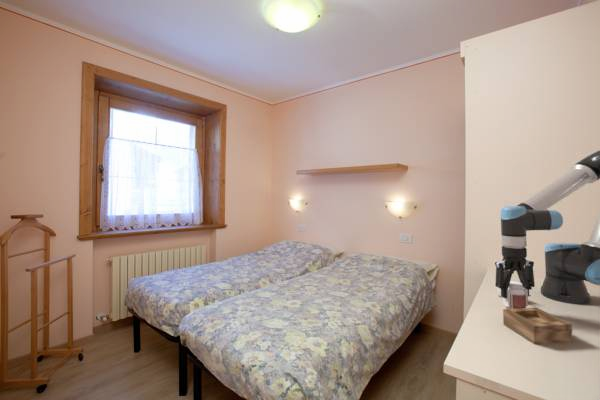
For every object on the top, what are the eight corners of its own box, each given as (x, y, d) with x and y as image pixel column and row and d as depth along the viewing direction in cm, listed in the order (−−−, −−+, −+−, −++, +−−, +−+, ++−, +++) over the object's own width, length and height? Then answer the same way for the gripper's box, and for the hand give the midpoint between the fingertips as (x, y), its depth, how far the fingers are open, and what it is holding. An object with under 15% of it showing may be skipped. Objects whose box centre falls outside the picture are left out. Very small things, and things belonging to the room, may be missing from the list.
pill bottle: (528, 311, 102) (527, 283, 102) (522, 316, 99) (521, 287, 99) (509, 306, 108) (508, 279, 107) (502, 310, 104) (502, 282, 104)
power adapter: (532, 303, 109) (532, 289, 109) (525, 305, 107) (525, 291, 107) (502, 294, 120) (502, 281, 119) (496, 296, 118) (495, 283, 117)
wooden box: (536, 322, 94) (536, 307, 94) (572, 341, 82) (571, 324, 82) (503, 324, 94) (503, 309, 94) (534, 344, 82) (533, 326, 82)
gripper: (529, 243, 106) (530, 299, 107) (482, 245, 106) (484, 302, 107) (547, 246, 99) (548, 307, 100) (496, 249, 99) (498, 311, 99)
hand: (515, 305), depth 103 cm, fingers closed on pill bottle, 6 cm apart
